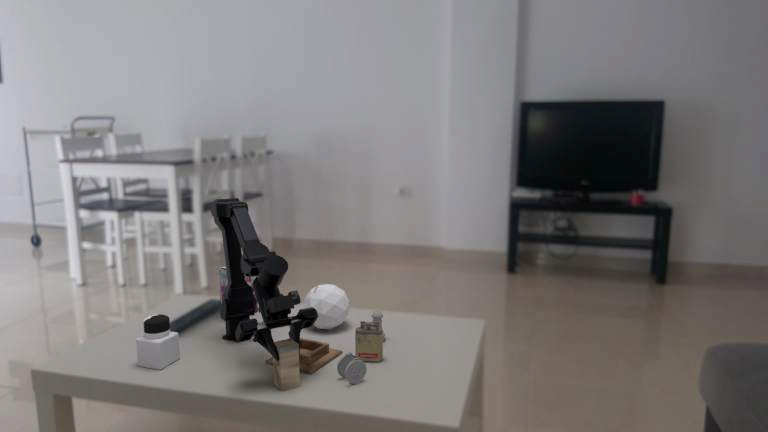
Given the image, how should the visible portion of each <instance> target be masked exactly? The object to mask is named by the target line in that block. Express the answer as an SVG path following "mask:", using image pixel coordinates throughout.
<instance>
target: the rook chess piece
mask: <svg viewBox="0 0 768 432" xmlns="http://www.w3.org/2000/svg"><path fill="white" fill-rule="evenodd" d="M371 318H372V321H371V322H376V321H379V328H381V329H382V333H383V342H385V340H386V334H385V332H384V330H383V320H382V318H384V315H383V313H382V311H379V310H376V311H373V312H372V314H371ZM372 324H376V323H372Z"/></svg>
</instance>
